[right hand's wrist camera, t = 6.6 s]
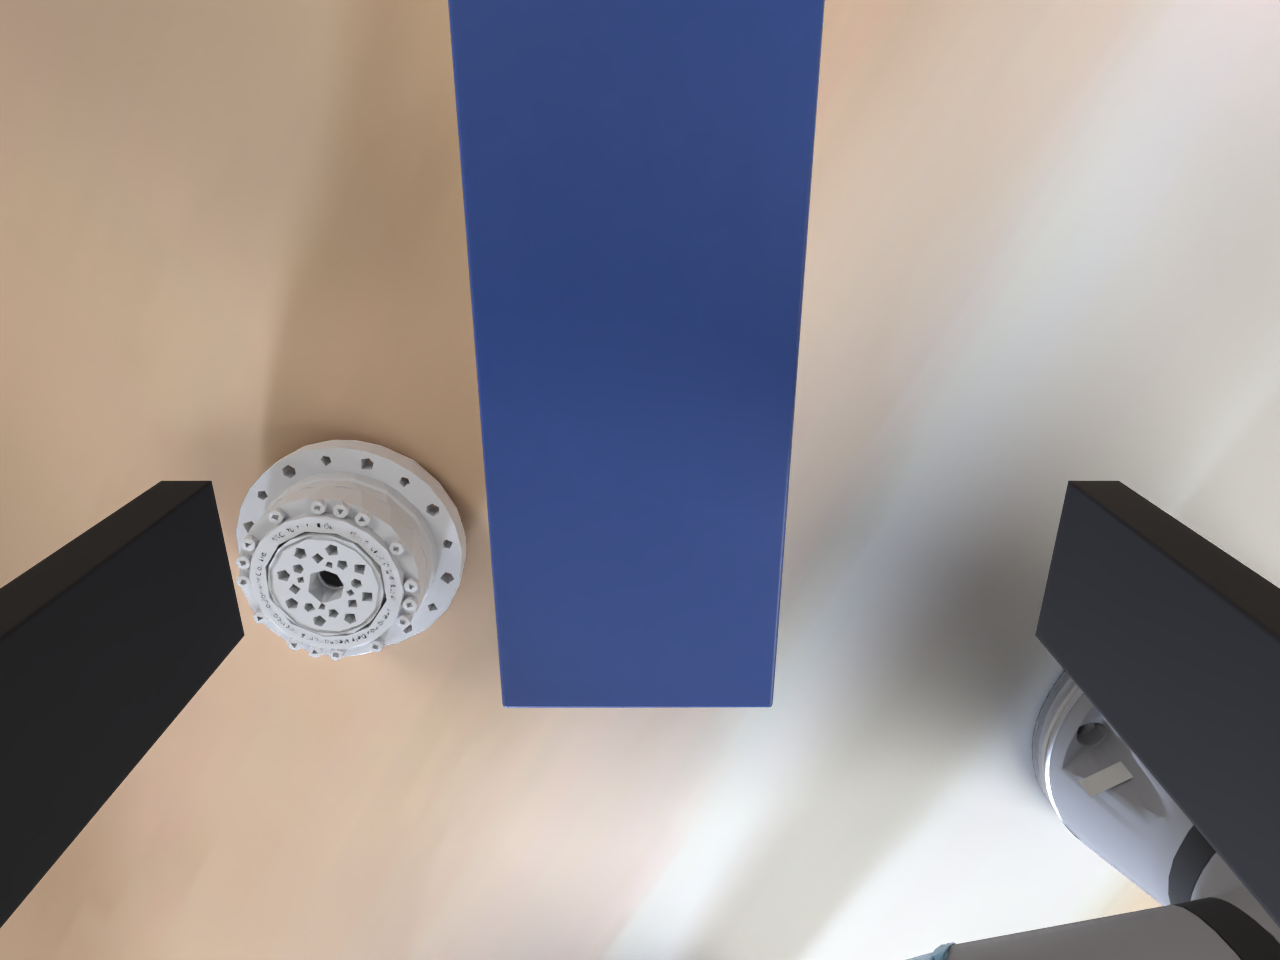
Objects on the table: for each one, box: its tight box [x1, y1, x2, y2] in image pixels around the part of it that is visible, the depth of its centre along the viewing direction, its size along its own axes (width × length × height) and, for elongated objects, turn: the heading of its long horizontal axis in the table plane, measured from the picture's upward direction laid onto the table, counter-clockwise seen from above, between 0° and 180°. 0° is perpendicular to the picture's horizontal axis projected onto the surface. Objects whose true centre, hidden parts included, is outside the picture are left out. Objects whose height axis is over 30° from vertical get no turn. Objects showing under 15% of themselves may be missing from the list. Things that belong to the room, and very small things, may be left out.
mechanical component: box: [235, 440, 467, 661], centre depth 35 cm, size 10×4×10 cm
